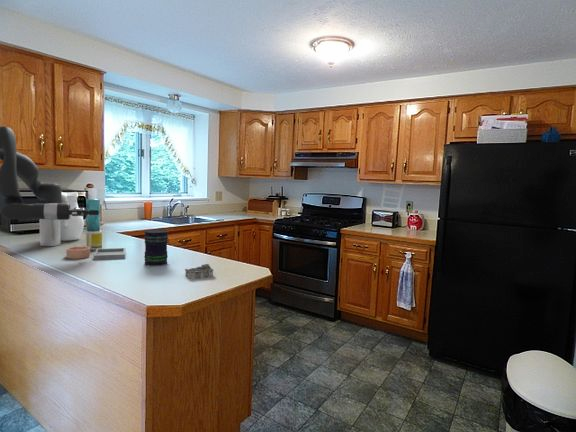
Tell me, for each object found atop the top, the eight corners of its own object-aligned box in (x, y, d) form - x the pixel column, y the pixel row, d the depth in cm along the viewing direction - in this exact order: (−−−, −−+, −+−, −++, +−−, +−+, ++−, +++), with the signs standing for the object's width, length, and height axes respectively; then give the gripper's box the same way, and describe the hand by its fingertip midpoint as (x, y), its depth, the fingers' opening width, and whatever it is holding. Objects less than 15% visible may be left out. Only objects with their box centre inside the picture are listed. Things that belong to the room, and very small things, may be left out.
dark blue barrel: (159, 266, 151) (160, 233, 150) (139, 264, 153) (139, 231, 152) (171, 262, 161) (172, 230, 159) (152, 260, 163) (152, 228, 161)
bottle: (87, 229, 165) (87, 198, 164) (100, 229, 167) (100, 199, 166) (85, 231, 160) (85, 199, 159) (99, 231, 162) (99, 199, 161)
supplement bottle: (104, 248, 185) (104, 224, 183) (96, 250, 178) (96, 225, 176) (92, 247, 185) (92, 223, 184) (83, 249, 178) (83, 225, 177)
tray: (96, 252, 172) (96, 248, 172) (125, 251, 178) (125, 248, 178) (93, 259, 158) (93, 255, 158) (124, 258, 163) (124, 254, 163)
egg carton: (209, 272, 146) (209, 263, 146) (214, 277, 140) (215, 267, 139) (183, 274, 141) (184, 265, 141) (188, 279, 135) (188, 269, 134)
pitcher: (53, 237, 208) (52, 191, 206) (85, 236, 215) (85, 192, 213) (44, 244, 187) (43, 193, 184) (80, 243, 194) (80, 194, 191)
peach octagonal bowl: (68, 254, 165) (68, 246, 165) (91, 253, 169) (90, 245, 169) (65, 259, 157) (65, 250, 156) (88, 258, 161) (88, 249, 160)
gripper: (53, 204, 150) (97, 205, 157) (60, 202, 163) (101, 203, 170) (54, 221, 151) (97, 221, 158) (60, 217, 164) (100, 218, 171)
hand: (99, 212), depth 164 cm, fingers closed on bottle, 5 cm apart
